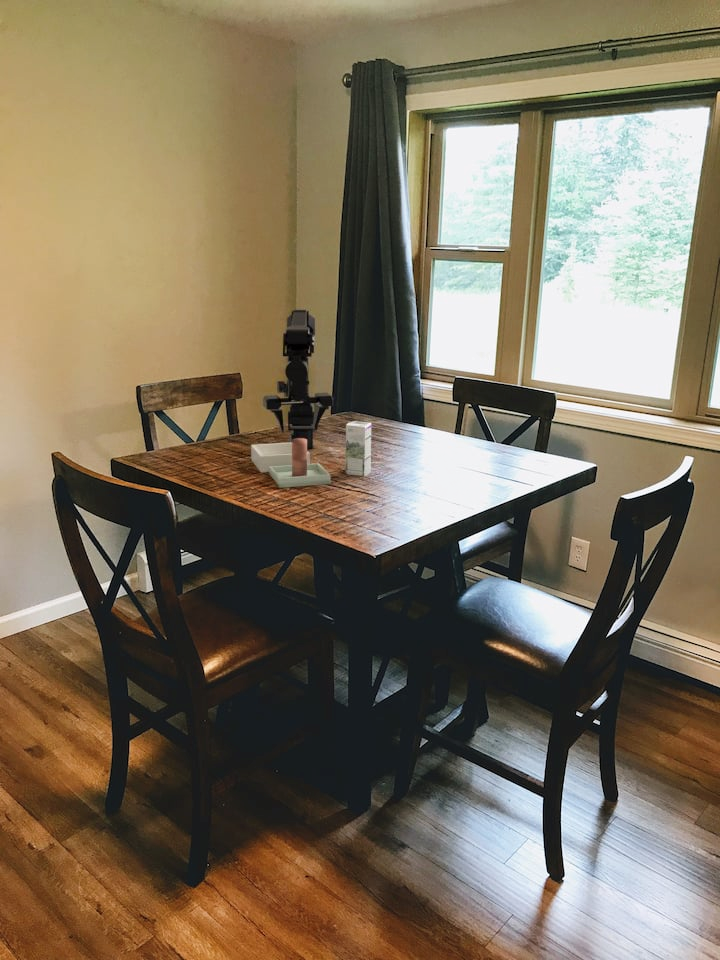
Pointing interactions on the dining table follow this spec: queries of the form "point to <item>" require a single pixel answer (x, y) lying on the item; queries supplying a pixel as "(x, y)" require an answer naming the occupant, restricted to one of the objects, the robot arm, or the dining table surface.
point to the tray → (285, 479)
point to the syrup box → (358, 448)
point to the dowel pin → (299, 457)
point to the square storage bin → (272, 455)
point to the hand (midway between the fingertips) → (298, 431)
